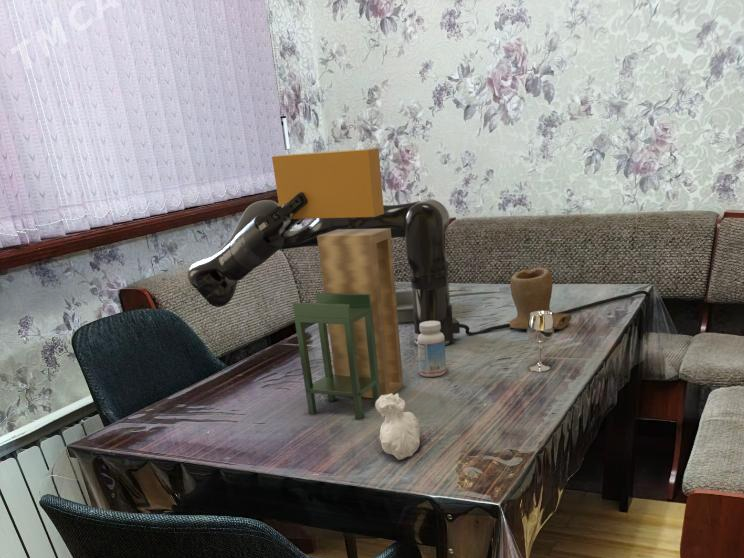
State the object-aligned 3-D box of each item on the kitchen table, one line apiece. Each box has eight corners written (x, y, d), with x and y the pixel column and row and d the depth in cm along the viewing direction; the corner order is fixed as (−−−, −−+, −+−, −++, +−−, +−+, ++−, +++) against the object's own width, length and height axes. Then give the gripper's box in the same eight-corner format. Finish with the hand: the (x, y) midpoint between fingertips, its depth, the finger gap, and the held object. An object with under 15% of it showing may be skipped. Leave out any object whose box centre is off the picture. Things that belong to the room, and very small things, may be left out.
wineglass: (552, 372, 154) (554, 316, 148) (525, 372, 155) (526, 317, 149) (553, 364, 159) (554, 309, 153) (527, 364, 160) (527, 310, 154)
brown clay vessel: (502, 334, 183) (502, 273, 175) (516, 322, 192) (516, 264, 185) (560, 336, 177) (563, 274, 169) (572, 324, 186) (574, 264, 178)
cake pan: (463, 306, 213) (463, 290, 210) (421, 327, 195) (420, 310, 193) (395, 302, 225) (393, 287, 223) (349, 321, 207) (348, 305, 205)
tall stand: (337, 395, 152) (316, 236, 136) (355, 383, 158) (337, 229, 142) (386, 399, 147) (371, 235, 131) (403, 386, 153) (390, 228, 137)
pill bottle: (449, 369, 161) (447, 319, 156) (442, 378, 156) (439, 327, 151) (424, 368, 163) (421, 319, 158) (416, 377, 158) (412, 326, 153)
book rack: (309, 414, 144) (292, 303, 133) (331, 399, 150) (317, 292, 139) (360, 419, 139) (347, 305, 128) (381, 403, 146) (370, 293, 134)
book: (280, 219, 140) (271, 156, 134) (292, 216, 143) (283, 154, 137) (374, 217, 131) (368, 149, 126) (384, 213, 134) (378, 147, 129)
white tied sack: (411, 448, 130) (372, 400, 128) (441, 426, 126) (401, 376, 124) (388, 476, 121) (345, 425, 118) (420, 454, 116) (376, 400, 114)
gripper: (225, 231, 141) (279, 180, 131) (266, 221, 152) (319, 173, 141) (246, 266, 143) (301, 218, 132) (285, 253, 154) (339, 208, 143)
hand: (310, 195), depth 137 cm, fingers closed on book, 4 cm apart
